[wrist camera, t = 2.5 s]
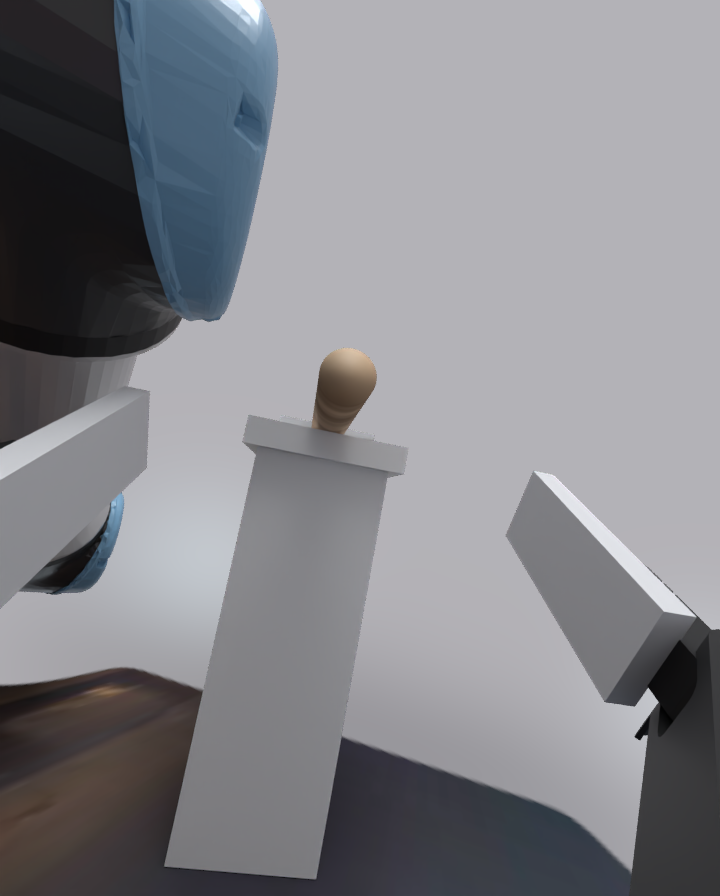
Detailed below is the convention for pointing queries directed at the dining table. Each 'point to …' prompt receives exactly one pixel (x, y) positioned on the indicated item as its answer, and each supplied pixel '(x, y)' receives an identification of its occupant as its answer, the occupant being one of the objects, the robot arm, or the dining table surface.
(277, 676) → the plinth
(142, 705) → the dining table surface
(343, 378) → the ball
